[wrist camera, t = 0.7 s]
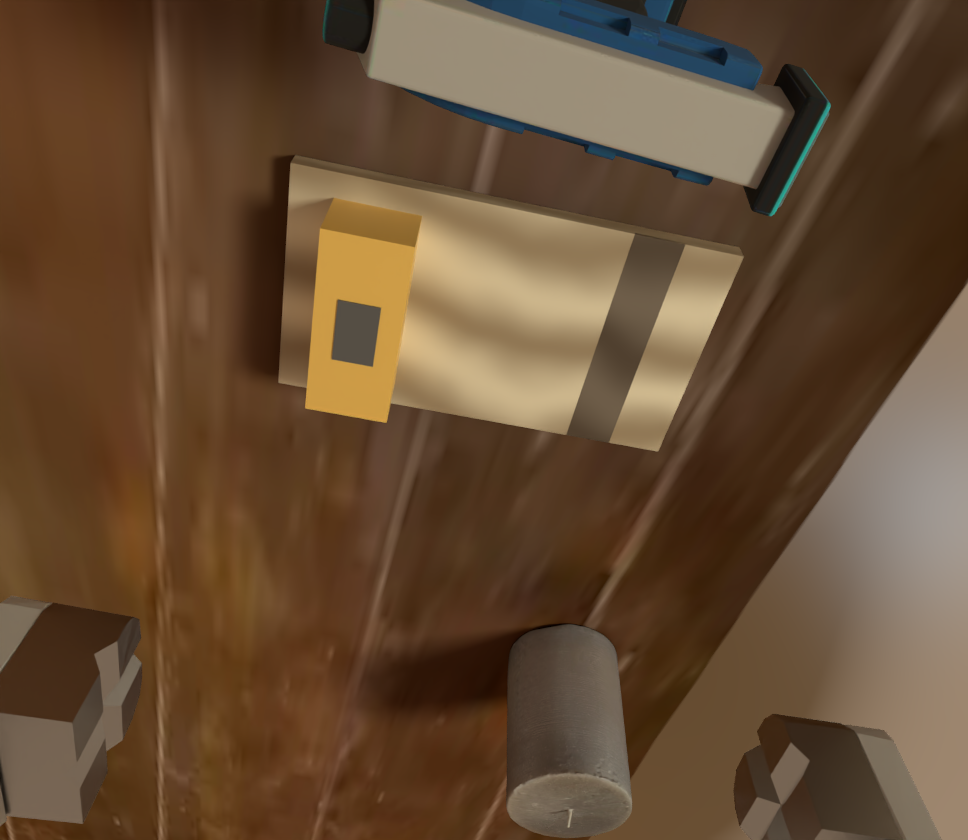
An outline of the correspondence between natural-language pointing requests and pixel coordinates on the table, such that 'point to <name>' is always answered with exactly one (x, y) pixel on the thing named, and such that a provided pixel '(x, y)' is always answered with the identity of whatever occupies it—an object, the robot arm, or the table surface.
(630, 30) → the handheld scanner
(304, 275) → the plywood panel
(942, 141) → the table surface
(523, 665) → the pillar candle
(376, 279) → the block
